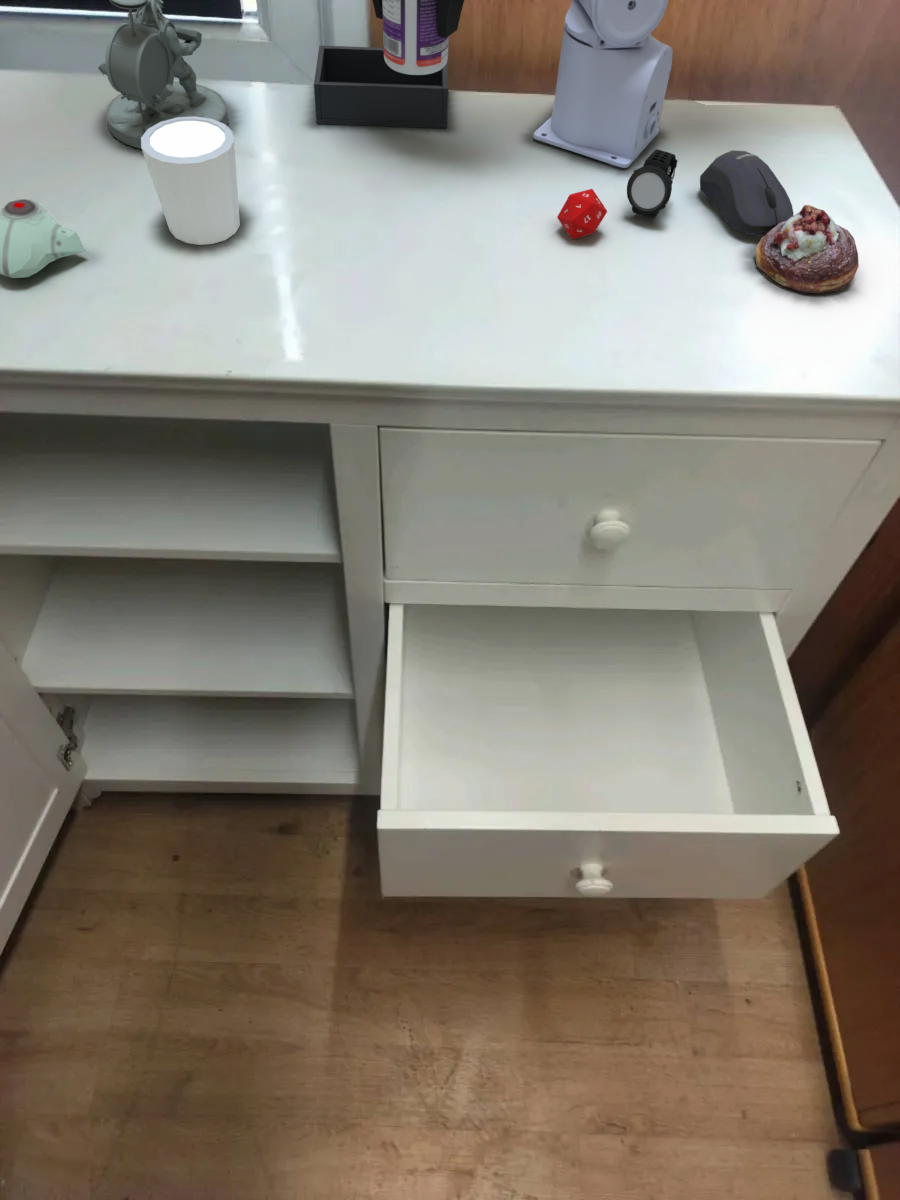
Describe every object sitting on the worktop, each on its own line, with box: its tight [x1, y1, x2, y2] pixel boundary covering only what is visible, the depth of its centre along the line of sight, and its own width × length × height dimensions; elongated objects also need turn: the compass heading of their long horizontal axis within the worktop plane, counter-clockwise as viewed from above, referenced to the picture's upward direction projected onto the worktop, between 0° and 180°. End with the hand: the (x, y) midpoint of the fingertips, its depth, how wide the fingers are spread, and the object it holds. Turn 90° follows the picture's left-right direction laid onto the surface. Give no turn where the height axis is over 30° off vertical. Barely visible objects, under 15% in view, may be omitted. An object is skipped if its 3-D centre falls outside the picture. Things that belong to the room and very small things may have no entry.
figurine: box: [97, 0, 229, 150], centre depth 76 cm, size 11×11×12 cm
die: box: [556, 188, 608, 240], centre depth 72 cm, size 4×4×4 cm
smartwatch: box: [626, 148, 678, 220], centre depth 73 cm, size 4×5×5 cm
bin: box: [313, 45, 449, 129], centre depth 82 cm, size 12×8×4 cm, turn 91°
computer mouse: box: [699, 149, 795, 235], centre depth 74 cm, size 6×9×4 cm, turn 22°
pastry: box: [754, 204, 859, 294], centre depth 69 cm, size 8×8×5 cm
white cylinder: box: [141, 116, 241, 246], centre depth 69 cm, size 7×7×7 cm
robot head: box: [0, 198, 87, 279], centre depth 66 cm, size 8×4×7 cm
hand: (416, 23), depth 72 cm, fingers closed on pill bottle, 5 cm apart
